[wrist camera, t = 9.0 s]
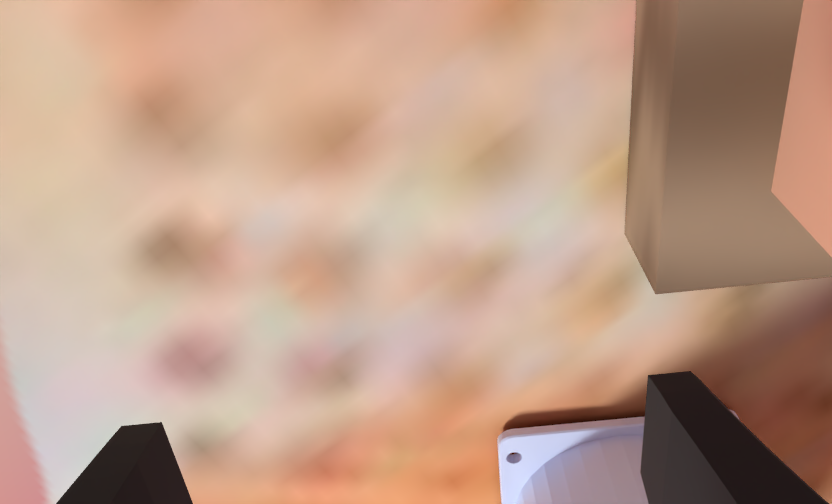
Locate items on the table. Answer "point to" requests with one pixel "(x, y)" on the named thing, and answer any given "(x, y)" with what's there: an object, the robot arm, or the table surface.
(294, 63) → the table surface
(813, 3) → the terracotta cube
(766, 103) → the taupe block
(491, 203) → the table surface
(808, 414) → the table surface
